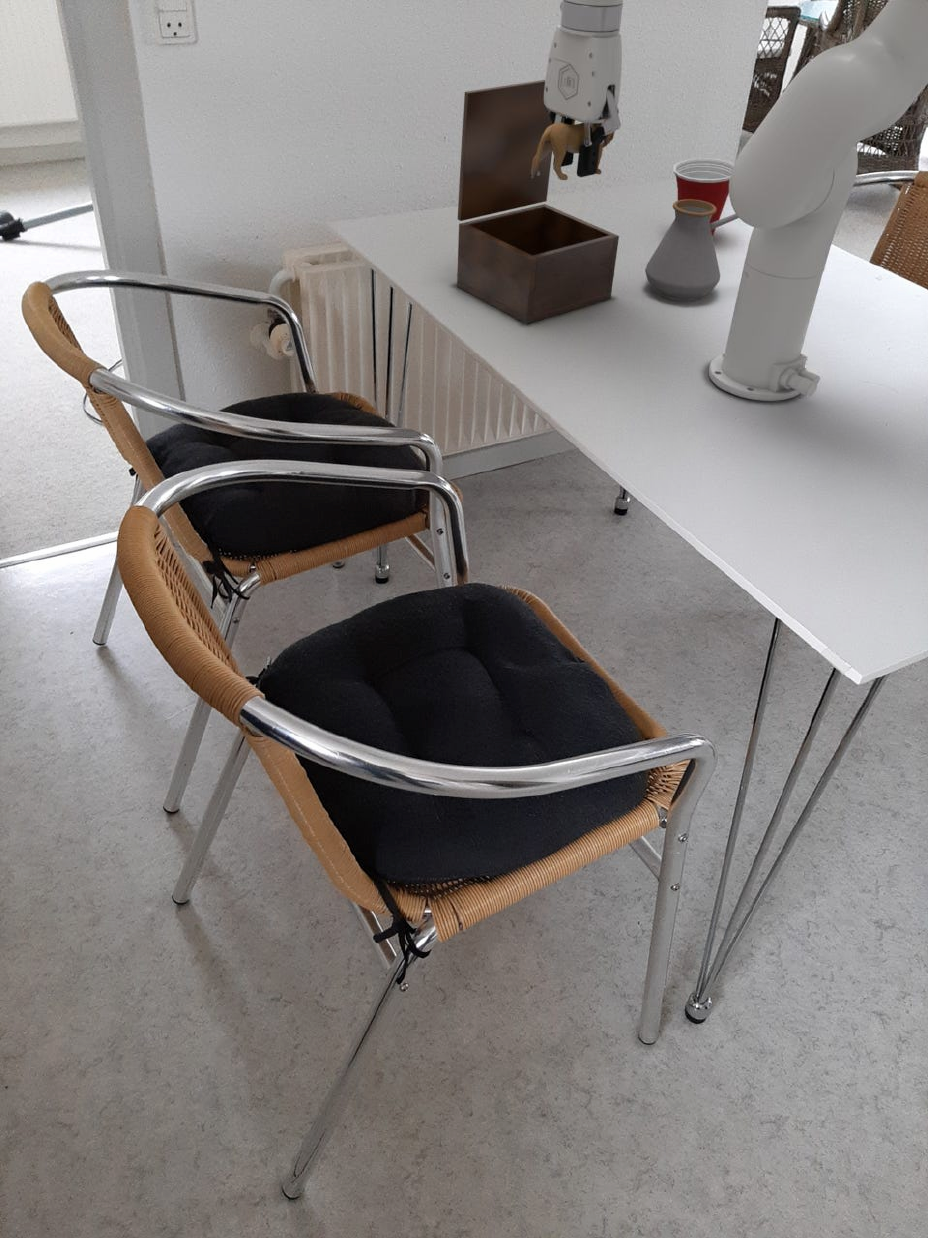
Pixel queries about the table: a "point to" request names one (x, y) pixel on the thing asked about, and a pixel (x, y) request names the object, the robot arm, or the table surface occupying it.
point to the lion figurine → (563, 146)
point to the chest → (536, 262)
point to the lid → (502, 149)
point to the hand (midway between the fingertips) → (574, 168)
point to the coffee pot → (687, 253)
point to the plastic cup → (704, 182)
